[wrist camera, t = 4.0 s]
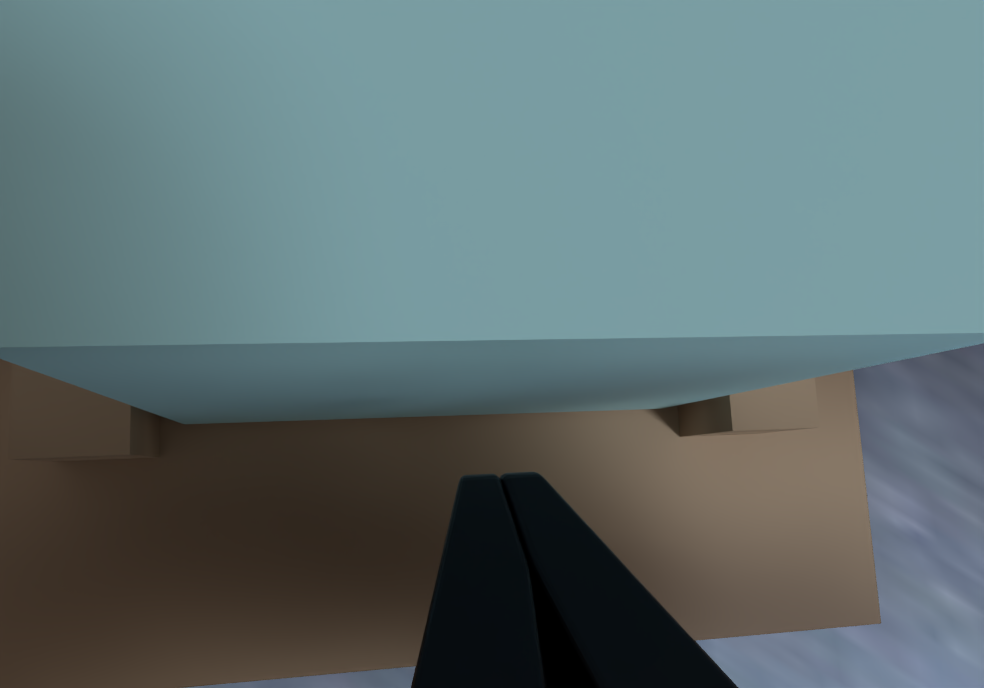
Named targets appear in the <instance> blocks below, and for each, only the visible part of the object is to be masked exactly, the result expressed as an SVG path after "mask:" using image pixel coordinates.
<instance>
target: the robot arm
mask: <svg viewBox="0 0 984 688" xmlns="http://www.w3.org/2000/svg"><path fill="white" fill-rule="evenodd" d="M411 688H738V687H737V686H736V685H735V684H734V683H733V682H732V680H731V679H730V678H729V677H728V676H727V675H726V674H725V673H724V672H723V671H722V670H721V669H720V667H719V666H718V665H717V664H716V663H715V662H714V661H713V660H712V659H711V658H710V657H709V656H708V654H707V653H706V652H705V651H704V650H703V649H702V648H701V647H700V646H699V645H698V644H697V643H696V641H695V640H694V639H693V638H692V637H691V636H690V635H689V634H688V633H687V632H686V631H685V630H684V629H683V627H682V626H681V625H680V624H679V623H678V622H677V621H676V620H675V619H674V618H673V617H672V616H671V614H670V613H669V612H668V611H667V610H666V609H665V608H664V607H663V606H662V605H661V604H660V603H659V601H658V600H657V599H656V598H655V597H654V596H653V595H652V594H651V593H650V592H649V591H648V590H647V588H646V587H645V586H644V585H643V584H642V583H641V582H640V581H639V580H638V579H637V578H636V577H635V576H634V574H633V573H632V572H631V571H630V570H629V569H628V568H627V567H626V566H625V565H624V564H623V563H622V561H621V560H620V559H619V558H618V557H617V556H616V555H615V554H614V553H613V552H612V551H611V550H610V548H609V547H608V546H607V545H606V544H605V543H604V542H603V541H602V540H601V539H600V538H599V537H598V535H597V534H596V533H595V532H594V531H593V530H592V529H591V528H590V527H589V526H588V525H587V524H586V522H585V521H584V520H583V519H582V518H581V517H580V516H579V515H578V514H577V513H576V512H575V511H574V510H573V508H572V507H571V506H570V505H569V504H568V503H567V502H566V501H565V500H564V499H563V498H562V497H561V495H560V494H559V493H558V492H557V491H556V490H555V489H554V488H553V487H552V486H551V485H550V484H549V482H548V481H547V480H546V479H545V478H544V477H543V476H542V475H540V474H539V473H537V472H516V473H505V474H503V475H501V476H500V478H499V477H498V476H497V475H495V474H476V475H464V476H462V477H461V478H460V480H459V483H458V487H457V491H456V495H455V500H454V504H453V508H452V513H451V517H450V521H449V526H448V530H447V534H446V539H445V543H444V547H443V552H442V556H441V560H440V565H439V569H438V573H437V578H436V582H435V586H434V591H433V595H432V599H431V604H430V608H429V612H428V617H427V621H426V625H425V630H424V634H423V638H422V643H421V647H420V651H419V655H418V660H417V664H416V668H415V673H414V677H413V681H412V686H411Z"/></svg>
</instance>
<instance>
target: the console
mask: <svg viewBox="0 0 984 688" xmlns="http://www.w3.org/2000/svg"><path fill="white" fill-rule="evenodd" d="M516 472H537V473H539V474H540V475H542V476H543V477H544V478H545V479H546V480H547V481H548V482H549V484H550V485H551V486H552V487H553V488H554V489H555V490H556V491H557V492H558V493H559V494H560V495H561V497H562V498H563V499H564V500H565V501H566V502H567V503H568V504H569V505H570V506H571V507H572V508H573V510H574V511H575V512H576V513H577V514H578V515H579V516H580V517H581V518H582V519H583V520H584V521H585V522H586V524H587V525H588V526H589V527H590V528H591V529H592V530H593V531H594V532H595V533H596V534H597V535H598V537H599V538H600V539H601V540H602V541H603V542H604V543H605V544H606V545H607V546H608V547H609V548H610V550H611V551H612V552H613V553H614V554H615V555H616V556H617V557H618V558H619V559H620V560H621V561H622V563H623V564H624V565H625V566H626V567H627V568H628V569H629V570H630V571H631V572H632V573H633V574H634V576H635V577H636V578H637V579H638V580H639V581H640V582H641V583H642V584H643V585H644V586H645V587H646V588H647V590H648V591H649V592H650V593H651V594H652V595H653V596H654V597H655V598H656V599H657V600H658V601H659V603H660V604H661V605H662V606H663V607H664V608H665V609H666V610H667V611H668V612H669V613H670V614H671V616H672V617H673V618H674V619H675V620H676V621H677V622H678V623H679V624H680V625H681V626H682V627H683V629H684V630H685V631H686V632H687V633H688V634H689V635H690V636H691V637H692V638H693V639H694V640H706V639H717V638H727V637H738V636H749V635H760V634H771V633H782V632H793V631H804V630H815V629H826V628H836V627H847V626H858V625H869V624H880V623H881V618H880V609H879V600H878V591H877V582H876V573H875V564H874V555H873V547H872V538H871V529H870V520H869V511H868V502H867V493H866V484H865V475H864V466H863V457H862V448H861V439H860V430H859V421H858V412H857V403H856V394H855V385H854V376H853V370H849V371H845V372H840V373H835V374H830V375H825V376H820V377H815V378H810V379H805V380H800V381H795V382H790V383H785V384H781V385H776V386H771V387H766V388H761V389H756V390H751V391H746V392H741V393H736V394H731V395H726V396H722V397H717V398H712V399H707V400H702V401H697V402H692V403H687V404H682V405H677V406H672V407H667V408H663V409H639V410H608V411H578V412H547V413H517V414H486V415H455V416H425V417H394V418H363V419H333V420H302V421H271V422H241V423H210V424H182V423H179V422H176V421H173V420H171V419H168V418H165V417H162V416H159V415H157V414H154V413H151V412H148V411H145V410H142V409H140V408H137V407H134V406H131V405H128V404H126V403H123V402H120V401H117V400H114V399H112V398H109V397H106V396H103V395H100V394H98V393H95V392H92V391H89V390H86V389H84V388H81V387H78V386H75V385H72V384H70V383H67V382H64V381H61V380H58V379H55V378H53V377H50V376H47V375H44V374H41V373H39V372H36V371H33V370H30V369H27V368H25V367H22V366H19V365H16V364H13V363H11V362H8V361H5V360H2V359H0V688H183V687H194V686H204V685H215V684H226V683H237V682H248V681H259V680H270V679H281V678H292V677H303V676H313V675H324V674H335V673H346V672H357V671H368V670H379V669H390V668H401V667H411V666H416V664H417V660H418V655H419V651H420V647H421V643H422V638H423V634H424V630H425V625H426V621H427V617H428V612H429V608H430V604H431V599H432V595H433V591H434V586H435V582H436V578H437V573H438V569H439V565H440V560H441V556H442V552H443V547H444V543H445V539H446V534H447V530H448V526H449V521H450V517H451V513H452V508H453V504H454V500H455V495H456V491H457V487H458V483H459V480H460V478H461V477H462V476H464V475H476V474H495V475H497V476H498V477H499V478H500V476H501V475H503V474H505V473H516Z"/></svg>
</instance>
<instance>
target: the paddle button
mask: <svg viewBox="0 0 984 688" xmlns="http://www.w3.org/2000/svg"><path fill="white" fill-rule="evenodd" d="M982 343H984V0H0V359H2V360H5V361H8V362H11V363H13V364H16V365H19V366H22V367H25V368H27V369H30V370H33V371H36V372H39V373H41V374H44V375H47V376H50V377H53V378H55V379H58V380H61V381H64V382H67V383H70V384H72V385H75V386H78V387H81V388H84V389H86V390H89V391H92V392H95V393H98V394H100V395H103V396H106V397H109V398H112V399H114V400H117V401H120V402H123V403H126V404H128V405H131V406H134V407H137V408H140V409H142V410H145V411H148V412H151V413H154V414H157V415H159V416H162V417H165V418H168V419H171V420H173V421H176V422H179V423H182V424H210V423H241V422H271V421H302V420H333V419H363V418H394V417H425V416H455V415H486V414H517V413H547V412H578V411H608V410H639V409H663V408H667V407H672V406H677V405H682V404H687V403H692V402H697V401H702V400H707V399H712V398H717V397H722V396H726V395H731V394H736V393H741V392H746V391H751V390H756V389H761V388H766V387H771V386H776V385H781V384H785V383H790V382H795V381H800V380H805V379H810V378H815V377H820V376H825V375H830V374H835V373H840V372H845V371H849V370H854V369H859V368H864V367H869V366H874V365H879V364H884V363H889V362H894V361H899V360H904V359H908V358H913V357H918V356H923V355H928V354H933V353H938V352H943V351H948V350H953V349H958V348H963V347H967V346H972V345H977V344H982Z"/></svg>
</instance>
